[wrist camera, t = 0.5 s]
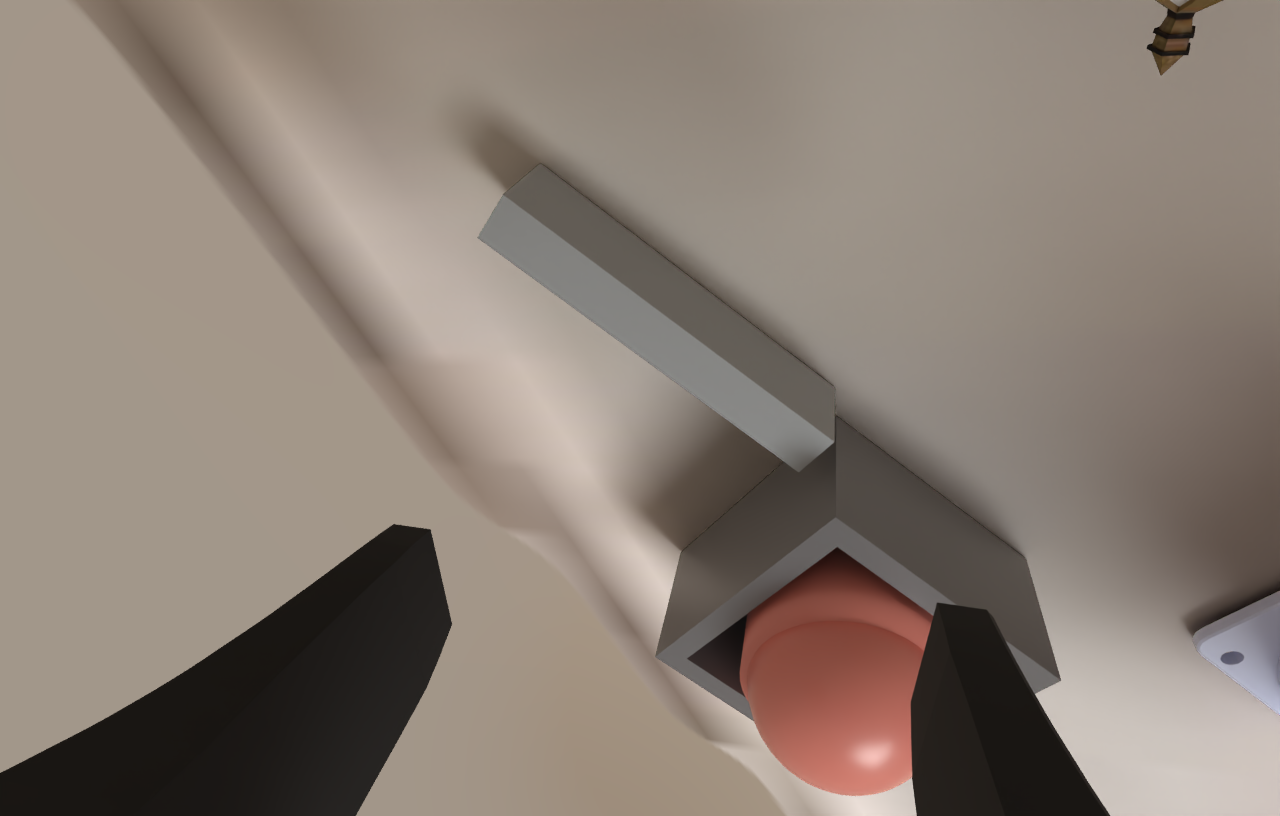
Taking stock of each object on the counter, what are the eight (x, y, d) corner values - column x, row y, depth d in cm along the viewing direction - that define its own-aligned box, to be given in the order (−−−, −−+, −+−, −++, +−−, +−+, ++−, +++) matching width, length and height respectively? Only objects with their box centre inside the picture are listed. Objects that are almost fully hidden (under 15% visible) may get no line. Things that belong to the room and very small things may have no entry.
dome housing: (1026, 559, 21) (1061, 680, 17) (848, 667, 24) (850, 784, 21) (835, 415, 20) (835, 516, 16) (680, 552, 23) (655, 656, 20)
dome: (985, 606, 20) (1025, 794, 15) (848, 687, 22) (849, 866, 18) (838, 498, 19) (838, 666, 15) (713, 597, 22) (683, 761, 17)
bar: (835, 387, 19) (834, 441, 17) (802, 416, 20) (798, 472, 18) (540, 162, 18) (502, 194, 16) (516, 202, 18) (477, 237, 16)
